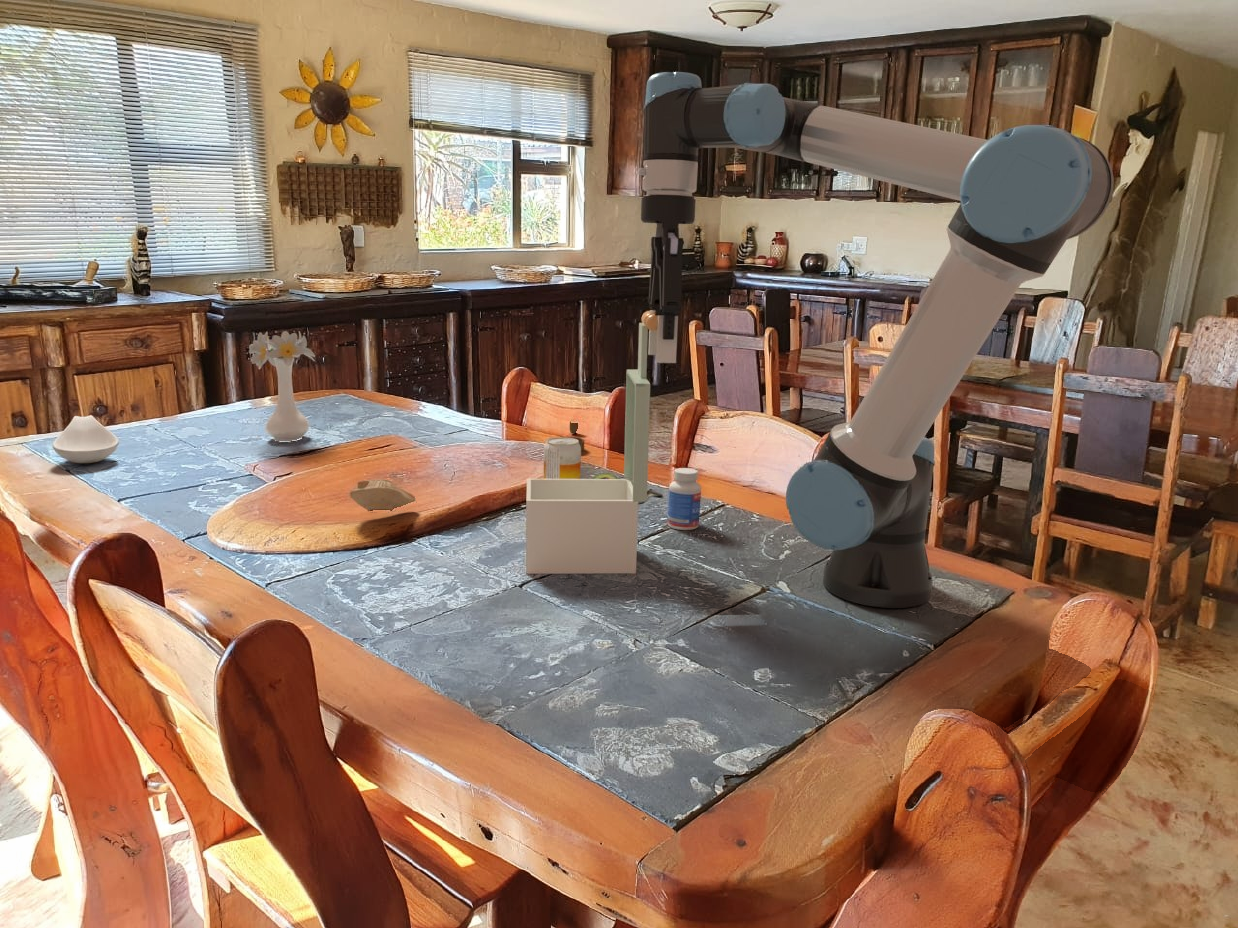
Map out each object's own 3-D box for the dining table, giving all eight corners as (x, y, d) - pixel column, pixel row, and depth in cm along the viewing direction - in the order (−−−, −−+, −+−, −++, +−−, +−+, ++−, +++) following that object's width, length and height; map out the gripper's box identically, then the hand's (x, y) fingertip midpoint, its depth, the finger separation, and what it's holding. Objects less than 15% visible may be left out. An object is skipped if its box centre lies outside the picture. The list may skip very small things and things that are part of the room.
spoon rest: (122, 463, 186) (119, 429, 185) (55, 470, 180) (50, 434, 179) (114, 440, 206) (110, 408, 204) (53, 445, 200) (49, 412, 198)
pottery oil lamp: (431, 513, 160) (430, 473, 158) (372, 528, 151) (371, 486, 149) (400, 502, 165) (399, 464, 163) (342, 516, 156) (340, 476, 155)
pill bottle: (697, 532, 154) (700, 476, 151) (665, 529, 155) (667, 473, 152) (700, 522, 159) (703, 468, 157) (670, 519, 160) (672, 465, 158)
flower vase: (285, 430, 220) (279, 325, 213) (334, 442, 209) (329, 332, 203) (235, 439, 209) (227, 328, 203) (284, 452, 199) (277, 336, 193)
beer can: (585, 525, 155) (587, 439, 152) (568, 535, 150) (570, 446, 146) (554, 520, 158) (555, 435, 154) (536, 530, 152) (537, 441, 149)
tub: (627, 545, 146) (630, 479, 143) (635, 573, 134) (638, 501, 132) (526, 546, 144) (527, 478, 142) (525, 573, 133) (526, 500, 130)
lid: (623, 477, 144) (649, 477, 144) (632, 501, 131) (660, 501, 131) (628, 308, 137) (654, 308, 138) (637, 316, 124) (666, 316, 125)
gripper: (633, 196, 137) (628, 349, 142) (651, 190, 117) (644, 368, 123) (683, 197, 138) (676, 350, 143) (709, 192, 118) (700, 369, 123)
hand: (661, 358), depth 133 cm, fingers closed on lid, 8 cm apart
